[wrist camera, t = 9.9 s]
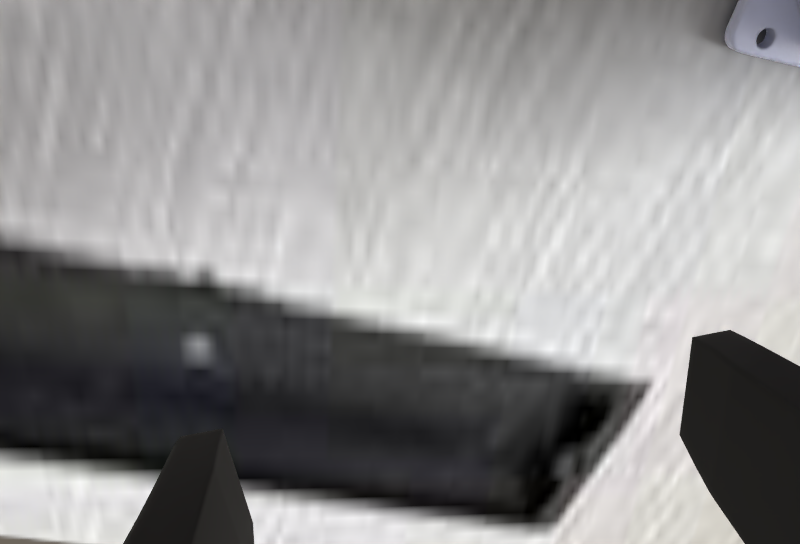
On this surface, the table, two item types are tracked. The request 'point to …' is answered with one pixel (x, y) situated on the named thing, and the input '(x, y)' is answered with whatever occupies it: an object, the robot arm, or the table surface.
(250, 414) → the table surface
